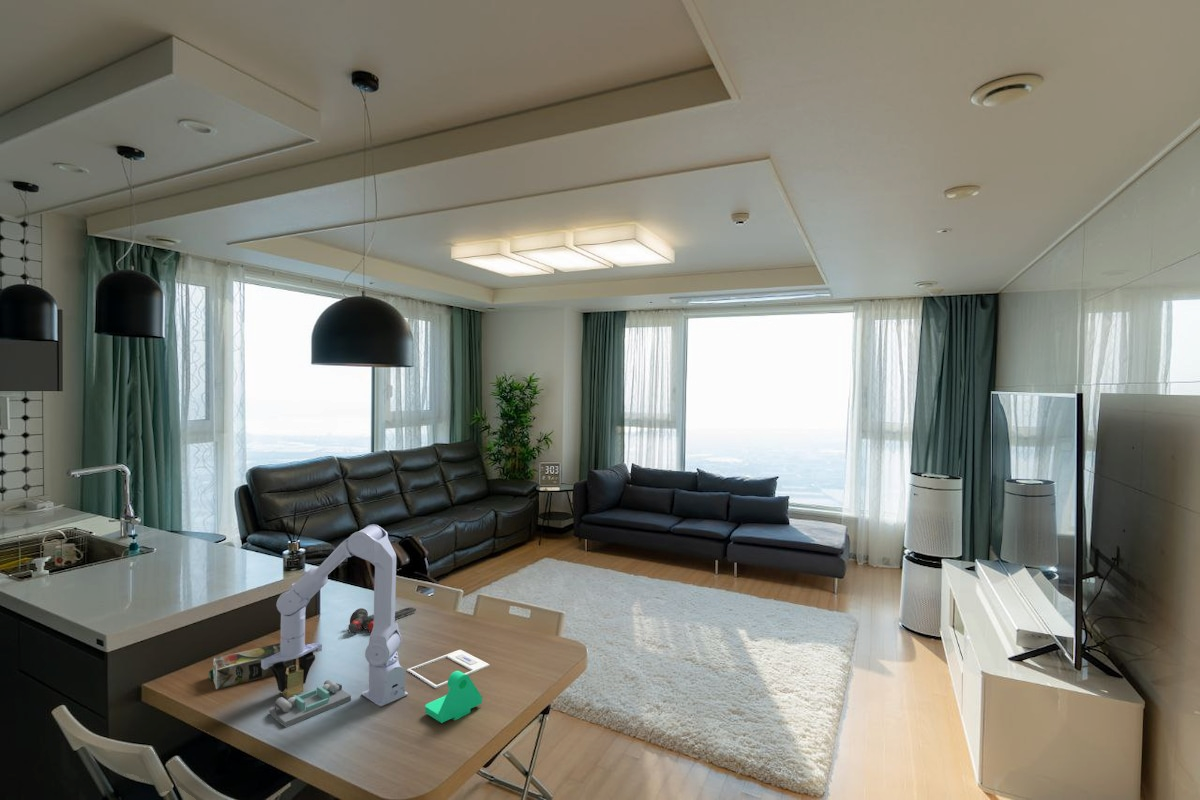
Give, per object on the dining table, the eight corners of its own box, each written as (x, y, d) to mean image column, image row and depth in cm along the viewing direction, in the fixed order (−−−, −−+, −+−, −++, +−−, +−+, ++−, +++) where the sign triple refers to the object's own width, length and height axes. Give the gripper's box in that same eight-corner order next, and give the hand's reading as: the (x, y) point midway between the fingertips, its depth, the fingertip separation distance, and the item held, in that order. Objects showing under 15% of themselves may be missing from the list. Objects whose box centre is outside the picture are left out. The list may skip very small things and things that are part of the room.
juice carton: (211, 692, 150) (212, 668, 150) (208, 678, 157) (208, 655, 157) (296, 671, 162) (297, 649, 162) (289, 659, 170) (289, 638, 170)
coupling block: (303, 692, 150) (303, 666, 150) (287, 698, 147) (287, 671, 147) (296, 687, 153) (296, 661, 153) (280, 692, 150) (281, 667, 150)
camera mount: (463, 696, 149) (464, 657, 149) (481, 707, 144) (482, 666, 144) (423, 716, 140) (424, 674, 140) (441, 727, 135) (442, 684, 135)
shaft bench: (350, 700, 146) (351, 686, 146) (285, 727, 134) (285, 712, 134) (333, 688, 152) (334, 675, 152) (269, 713, 140) (269, 699, 140)
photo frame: (489, 663, 167) (435, 686, 153) (489, 667, 166) (435, 690, 153) (460, 648, 176) (407, 668, 163) (460, 652, 176) (407, 672, 163)
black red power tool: (365, 649, 181) (338, 631, 189) (429, 627, 203) (403, 611, 211) (368, 630, 181) (341, 612, 189) (432, 609, 202) (405, 594, 211)
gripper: (313, 622, 158) (313, 671, 158) (256, 639, 147) (255, 692, 147) (325, 629, 154) (325, 679, 154) (267, 647, 142) (266, 701, 142)
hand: (291, 686), depth 150 cm, fingers open, 5 cm apart
